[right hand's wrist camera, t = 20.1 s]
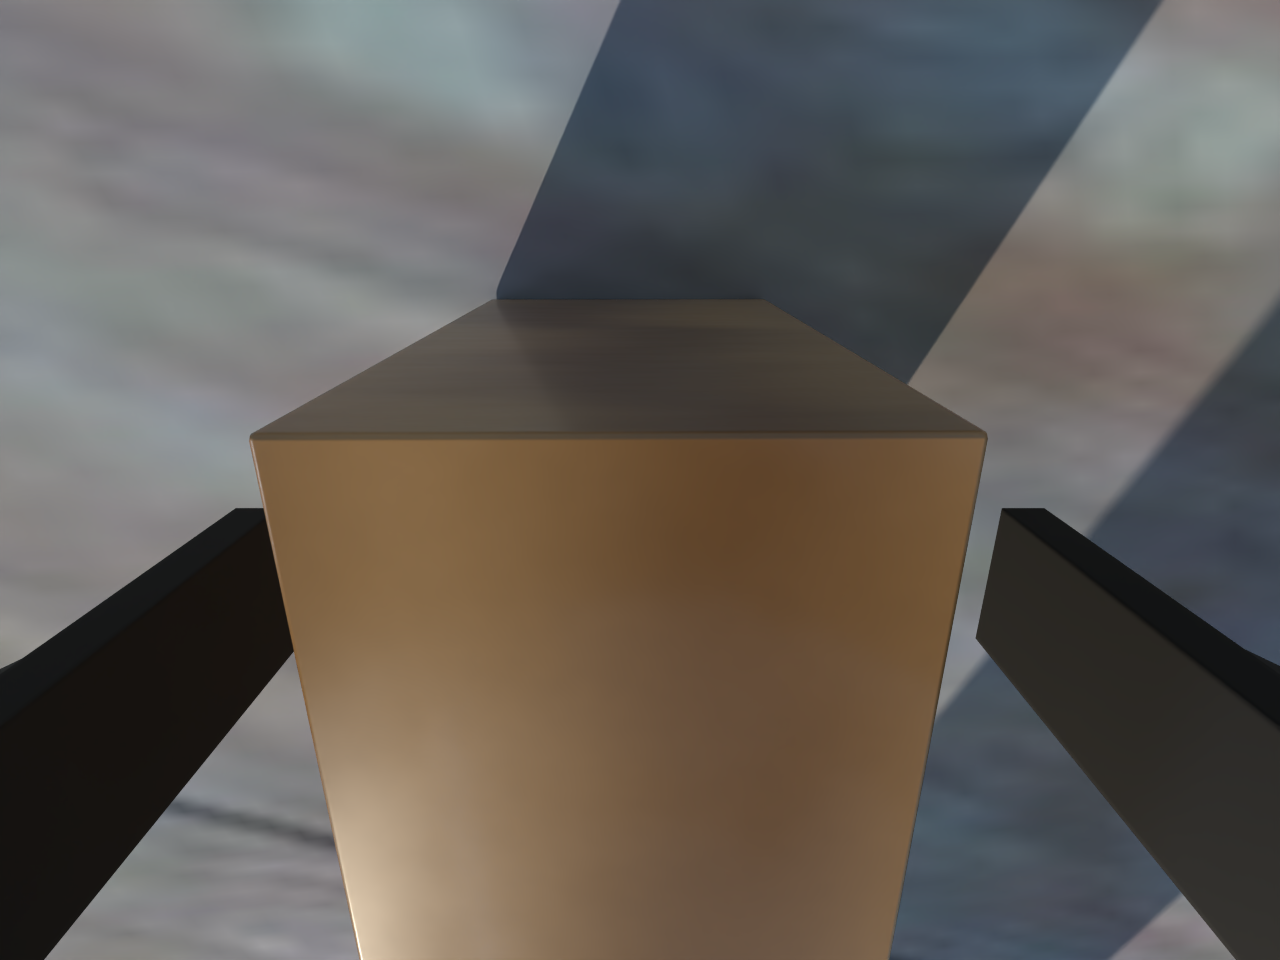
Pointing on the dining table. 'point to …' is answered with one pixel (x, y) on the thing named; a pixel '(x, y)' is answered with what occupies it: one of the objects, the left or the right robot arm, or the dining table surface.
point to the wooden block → (621, 630)
